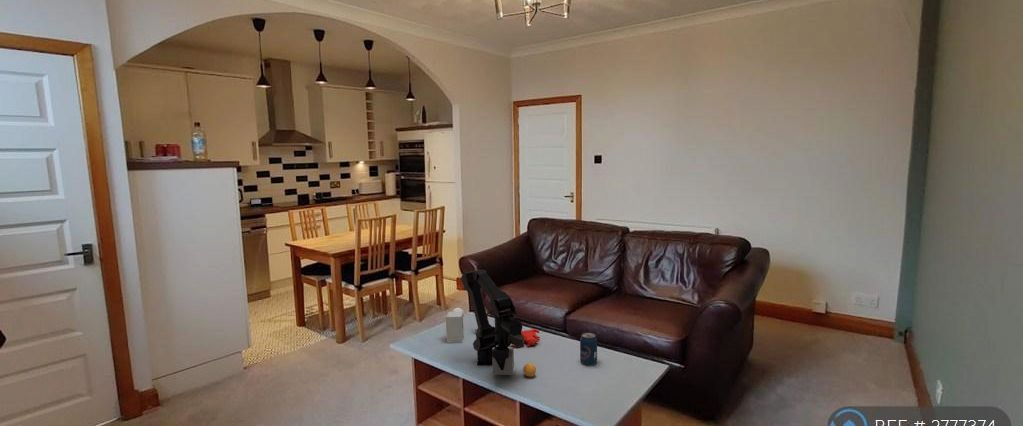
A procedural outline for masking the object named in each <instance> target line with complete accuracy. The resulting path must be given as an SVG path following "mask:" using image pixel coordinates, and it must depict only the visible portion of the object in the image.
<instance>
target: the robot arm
mask: <svg viewBox="0 0 1023 426" xmlns="http://www.w3.org/2000/svg"><path fill="white" fill-rule="evenodd" d="M460 280H461V283H462V285H463V287H464V288H463V289H464V290H466V291H467V292H468V294H469V296H470V301H471V305H472V309H473V312H474V318H475V320H476V325H477V329H476V331H475V340H474V341H473V343H472V346H473V349H474V350H475V351H477V352H476V353H477V354H476V357H477V361H476V365H477V366H493V365H492V357H493V358H495V360H496V362H497V363H498V365H499V367H500V369H501V370H504V365H505V359H506V358H509V348H510V346H511V345H512V344H513V345H512V346H514V345H516V346H515V347H517V346H518V348H522V346H523V344H524V343H523V341H524V335H522V331H523V324H522V322H521V321H520V320H519V319H518V317H517V316H514V315H517V312H516V311H517V308H516V307H515V304H514V301H513V300H512V297H510V295H509V294H508V293H506V292H505V291H503V290H500V289H499V288H498V286H497V285H496V283H495V282H494V281H493V280H492V279H491V277H490V276H489V275H488V272H487V270H485V269H479V270H472V271H466V272H463V273H462V275H461V278H460ZM482 290H483V291H484V294H486V296H487V297H488V298H489V306H490V308H491V309H492V313H491V314H492V315H494V325H493V326H492V325H491V324H490V322H489V318H487V314H486V310H487V309H486V310H485V308H486V306H485V303H484V299H483V295H482Z"/></svg>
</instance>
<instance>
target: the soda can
mask: <svg viewBox="0 0 1023 426" xmlns="http://www.w3.org/2000/svg"><path fill="white" fill-rule="evenodd" d="M596 336H597V335H596V334H595V333H593V332H582V334H581V336H580V339H579V353H580V354H579V359H580V362H581V364H582V365H583V366H589V367H592V366H595V365H596V363H597V362H598V338H597V337H596Z"/></svg>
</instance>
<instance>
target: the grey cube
mask: <svg viewBox="0 0 1023 426" xmlns="http://www.w3.org/2000/svg"><path fill="white" fill-rule="evenodd" d="M508 348H509V358H506V359H505V365H504V370H501V369H500V367H499V365H498V363H497V362H496V360H495V358H493V357H492V365H491V366H492V375H495V376H496V375H498V376H502V375H504V376H505V375H506V376H511V375H513V374H514V367H515V361H514V359H515V355H514V348H513V347H512V348H510V347H508Z"/></svg>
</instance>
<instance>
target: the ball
mask: <svg viewBox="0 0 1023 426" xmlns="http://www.w3.org/2000/svg"><path fill="white" fill-rule="evenodd" d="M522 370H523V374H524V375H525V376H526V377H529V378H530V377H533V376H534V375H536V372H537V367H536V365H535V364H534V363H530V362H529V363H526V364H524V366H523V369H522Z"/></svg>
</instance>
